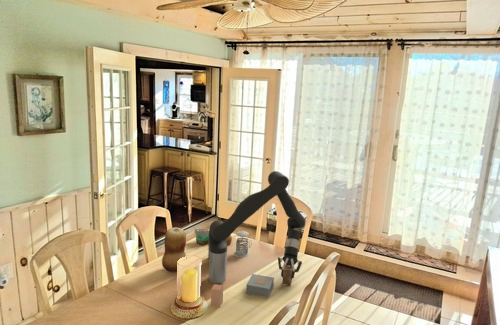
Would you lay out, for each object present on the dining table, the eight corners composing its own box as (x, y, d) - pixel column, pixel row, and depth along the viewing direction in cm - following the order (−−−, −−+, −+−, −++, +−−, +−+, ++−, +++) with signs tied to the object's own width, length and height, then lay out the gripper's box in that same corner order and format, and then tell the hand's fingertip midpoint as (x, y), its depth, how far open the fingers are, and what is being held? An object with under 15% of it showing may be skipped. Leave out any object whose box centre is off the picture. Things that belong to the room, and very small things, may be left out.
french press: (240, 249, 236) (241, 213, 231) (254, 254, 229) (256, 217, 225) (231, 254, 228) (232, 217, 223) (245, 259, 222) (247, 221, 217)
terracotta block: (210, 305, 172) (211, 288, 170) (214, 300, 176) (214, 284, 174) (219, 307, 171) (220, 290, 169) (222, 302, 175) (223, 285, 173)
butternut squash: (178, 278, 196) (178, 235, 191) (157, 273, 200) (157, 231, 195) (190, 267, 208) (191, 227, 204) (171, 262, 213) (171, 223, 208)
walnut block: (282, 284, 194) (283, 269, 192) (283, 280, 198) (284, 265, 197) (290, 285, 193) (291, 270, 191) (291, 281, 197) (292, 266, 196)
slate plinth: (246, 293, 184) (246, 284, 183) (252, 282, 195) (252, 273, 194) (268, 297, 181) (269, 288, 180) (273, 286, 192) (273, 277, 191)
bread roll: (223, 247, 238) (223, 236, 237) (212, 239, 250) (212, 228, 249) (235, 244, 244) (235, 233, 242) (223, 236, 256) (224, 226, 254)
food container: (191, 245, 239) (191, 231, 237) (194, 241, 245) (194, 227, 243) (209, 247, 237) (209, 232, 235) (211, 243, 243) (212, 229, 241)
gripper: (279, 243, 201) (273, 273, 192) (304, 247, 197) (299, 278, 188) (280, 248, 207) (274, 277, 198) (304, 252, 203) (300, 282, 194)
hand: (287, 277), depth 193 cm, fingers closed on walnut block, 4 cm apart
